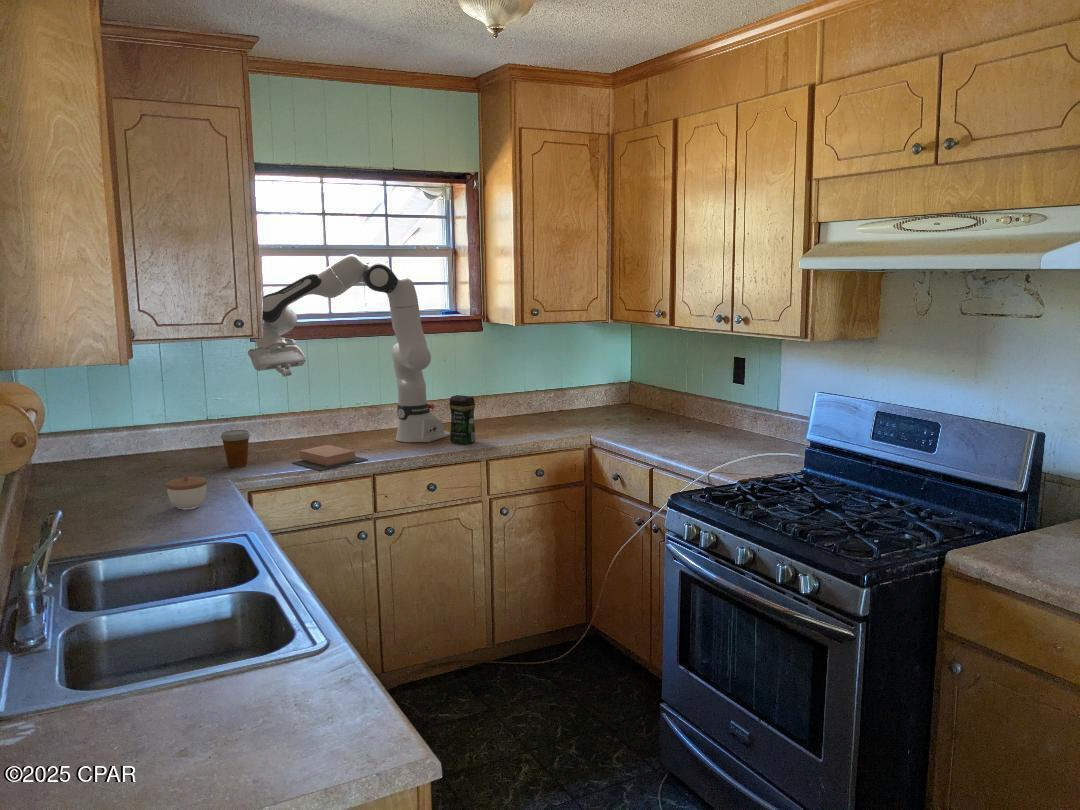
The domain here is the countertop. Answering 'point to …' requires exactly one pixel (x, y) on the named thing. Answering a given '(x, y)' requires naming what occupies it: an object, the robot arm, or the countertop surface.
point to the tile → (327, 455)
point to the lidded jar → (186, 491)
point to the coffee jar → (462, 419)
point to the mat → (322, 467)
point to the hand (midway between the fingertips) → (287, 375)
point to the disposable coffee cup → (236, 447)
